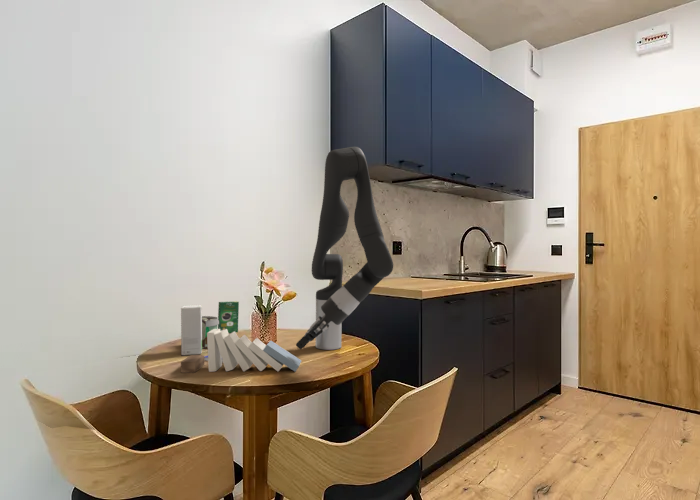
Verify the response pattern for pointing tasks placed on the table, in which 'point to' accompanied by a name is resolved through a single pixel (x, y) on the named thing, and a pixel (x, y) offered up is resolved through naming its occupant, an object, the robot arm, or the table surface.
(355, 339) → the table surface
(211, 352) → the domino
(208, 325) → the food container
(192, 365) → the block
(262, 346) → the domino
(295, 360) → the domino
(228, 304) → the coffee box
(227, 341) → the domino
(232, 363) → the domino
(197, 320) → the skincare box
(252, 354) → the domino
